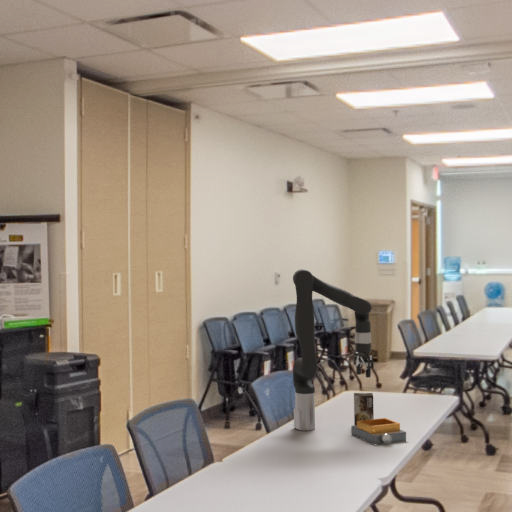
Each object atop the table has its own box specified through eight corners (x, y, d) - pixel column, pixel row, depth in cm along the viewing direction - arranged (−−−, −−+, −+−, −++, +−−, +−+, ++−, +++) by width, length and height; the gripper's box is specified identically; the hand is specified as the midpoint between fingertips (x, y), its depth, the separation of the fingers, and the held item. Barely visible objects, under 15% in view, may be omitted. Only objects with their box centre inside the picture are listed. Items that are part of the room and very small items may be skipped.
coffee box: (373, 426, 354) (372, 392, 354) (373, 429, 348) (373, 395, 347) (353, 426, 355) (353, 392, 355) (354, 429, 348) (354, 395, 348)
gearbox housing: (378, 446, 318) (377, 430, 317) (351, 434, 338) (351, 419, 338) (409, 442, 324) (409, 426, 324) (381, 431, 344) (381, 416, 344)
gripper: (348, 340, 356) (348, 374, 356) (364, 343, 343) (364, 378, 343) (362, 339, 359) (362, 373, 359) (378, 343, 346) (378, 377, 346)
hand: (363, 375), depth 351 cm, fingers open, 8 cm apart
